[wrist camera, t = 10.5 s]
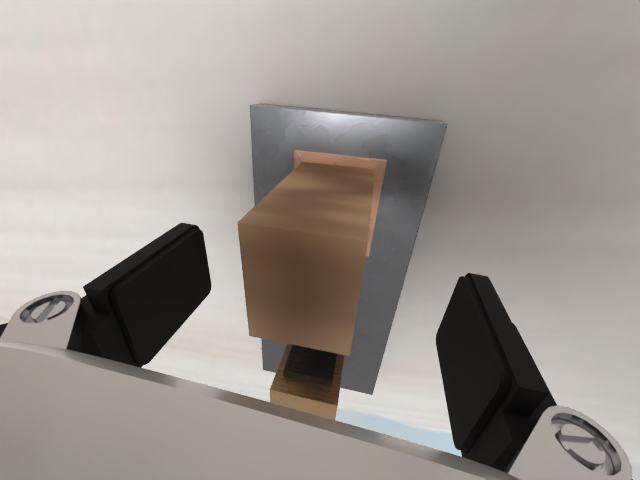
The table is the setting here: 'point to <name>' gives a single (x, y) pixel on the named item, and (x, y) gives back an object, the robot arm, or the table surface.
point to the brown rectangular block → (308, 256)
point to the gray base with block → (383, 241)
